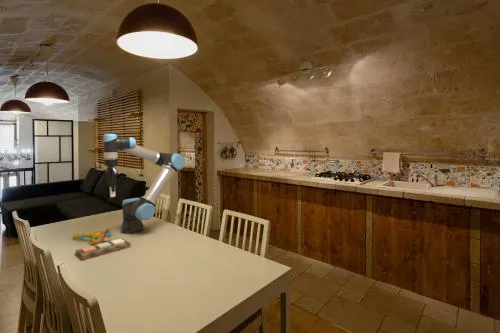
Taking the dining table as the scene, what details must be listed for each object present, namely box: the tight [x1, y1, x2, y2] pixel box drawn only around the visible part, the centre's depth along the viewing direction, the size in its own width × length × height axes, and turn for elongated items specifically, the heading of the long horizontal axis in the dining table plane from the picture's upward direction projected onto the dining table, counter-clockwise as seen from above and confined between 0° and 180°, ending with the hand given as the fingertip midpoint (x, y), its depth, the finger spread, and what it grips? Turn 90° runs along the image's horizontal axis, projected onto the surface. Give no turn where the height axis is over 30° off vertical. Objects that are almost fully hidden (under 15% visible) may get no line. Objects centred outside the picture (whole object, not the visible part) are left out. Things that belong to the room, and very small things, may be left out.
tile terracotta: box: [80, 245, 96, 254], centre depth 159 cm, size 6×6×2 cm
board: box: [75, 238, 131, 261], centre depth 165 cm, size 26×12×3 cm, turn 136°
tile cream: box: [110, 238, 125, 246], centre depth 171 cm, size 6×6×2 cm
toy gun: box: [72, 227, 114, 246], centre depth 177 cm, size 8×27×15 cm
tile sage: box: [96, 241, 111, 249], centre depth 165 cm, size 6×6×2 cm
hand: (112, 196), depth 176 cm, fingers closed
